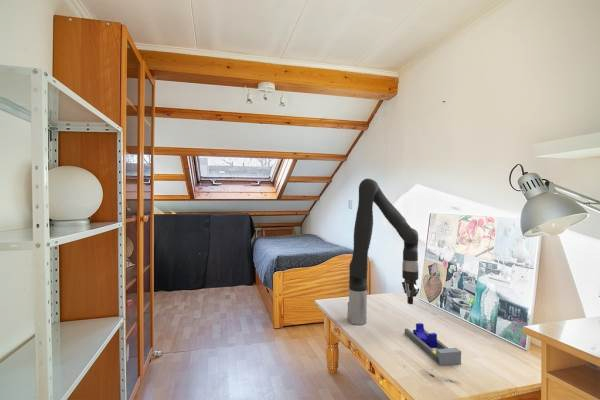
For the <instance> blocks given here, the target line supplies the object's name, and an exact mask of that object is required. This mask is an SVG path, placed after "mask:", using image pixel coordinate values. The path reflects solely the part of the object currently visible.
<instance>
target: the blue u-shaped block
mask: <svg viewBox="0 0 600 400" xmlns="http://www.w3.org/2000/svg"><path fill="white" fill-rule="evenodd" d="M424 330H425V328H424V323H422V322H417V323H415V329H413V330H412V333H413V334H415V335H416V336H417V337H418V338H419V339H421V340H422V341H423V342H424V343H425V344H427V345H428V346H429V347H430V348H431V349H434V348H436V349H438V348H437V340H438V335H437V333H435V332H431V333H429V332H428V333H429V336H428V337H427V335H426V333H425V331H424Z"/></svg>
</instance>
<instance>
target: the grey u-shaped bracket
mask: <svg viewBox="0 0 600 400" xmlns="http://www.w3.org/2000/svg"><path fill="white" fill-rule="evenodd" d="M424 331H425V333H426V335H427V337H428V336H429V332H428V331H427V330H426V329H424ZM404 335H405V336H407V338H409V339H410V340H411V341H412V342H413V343H414V344H416V346H417V347H419V348H420V349H421V350H422V352H424V353H425V354H426V355H428V356H429V357H430V358H431V359H432V360H434V362H436V364H438V365H439V366H440V367H442V366H451V365H461V364H462V350H460V349H458V348H457V347H448V346H447V345H445V344H444V343H442V342H441V340H438V339H437V348H436V349H435V350H434V348H430V347H429V346H428V345H427V344H425V343H424V342H423V341H422V340H421V339H419V338H418V337H417V336H416V335H415V334H413V331H411V330H410V329H409V328H404Z"/></svg>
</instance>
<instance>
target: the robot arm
mask: <svg viewBox="0 0 600 400" xmlns="http://www.w3.org/2000/svg"><path fill="white" fill-rule="evenodd" d="M374 204H375V205H376V206H377V208H379V210H380V211H381V213H382V215H383V216H384V218H385V219H386V220H387V222H388V223H389V224H390V225H391V226H392V227H393V228H394V229H395V231H396V232H397V234H398V235H399V237H400V238H401V239H402V241H403V249H402V262H401V263H402V264H401V265H402V267H401V269H402V271H401V272H402V274H401V277H402V279H403V280H404V281H402V282H401V285H402V289H403V292H404V293H405V294H406V296H407V297H406V298H407V302H406V303H407V304H409V305H413V304H414V298H416V297H417V295H418V294H419V292H420V288H419V287H417V285H418V284H417V280H419V251H418V250H419V248H418V247H419V233H418V231H417V230H416V229H415V228H412V227H411V226H410V224H409V223H408V222H407V220H406V218H405V217H404V216H403V215H402V214H401V212H400V211H399V210H398V209H397V208H396V207H395V206H394V205H393V203H392V202H391V201H390V200H389V199H388V198H387V197H386V196H385V194H384V192H383V191H382V189H381V188H380V185H378V182H377V181H376V180H374V179H371V178H364V179H363V180H361V182H359V185H358V205H357V209H356V210H357V211H356V216H355V219H354V220H355V222H354V228H353V252H352V256H351V257H352V258H351V261H350V263H349V268H348V269H349V277H348V302H347V313H346V314H347V317H346V318H347V319H346V320H347V321H348V322H349V323H350V325H355V326H363V325H365V324H367V312H368V311H367V306H368V303H367V300H368V298H367V297H368V255H369V249H370V245H371V241H372V234H373V227H374V216H373V215H374V212H373V205H374Z"/></svg>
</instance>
